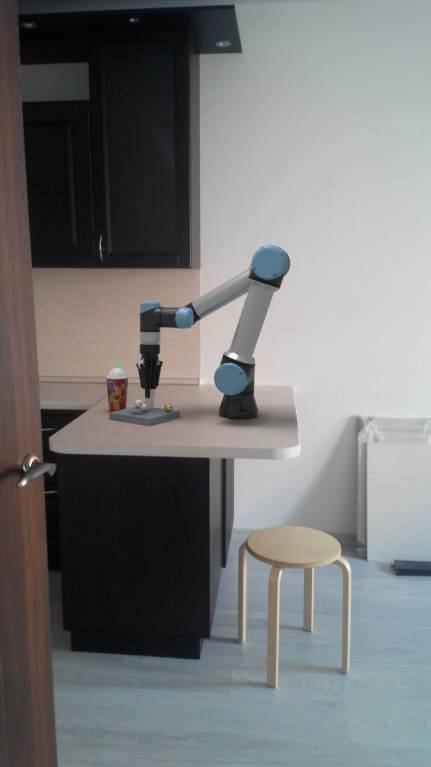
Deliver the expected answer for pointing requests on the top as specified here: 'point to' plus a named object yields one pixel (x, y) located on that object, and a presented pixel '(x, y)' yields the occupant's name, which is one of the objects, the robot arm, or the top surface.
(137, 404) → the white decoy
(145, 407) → the steel ball
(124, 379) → the smoothie
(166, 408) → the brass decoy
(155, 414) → the bearing plate
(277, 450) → the top surface
